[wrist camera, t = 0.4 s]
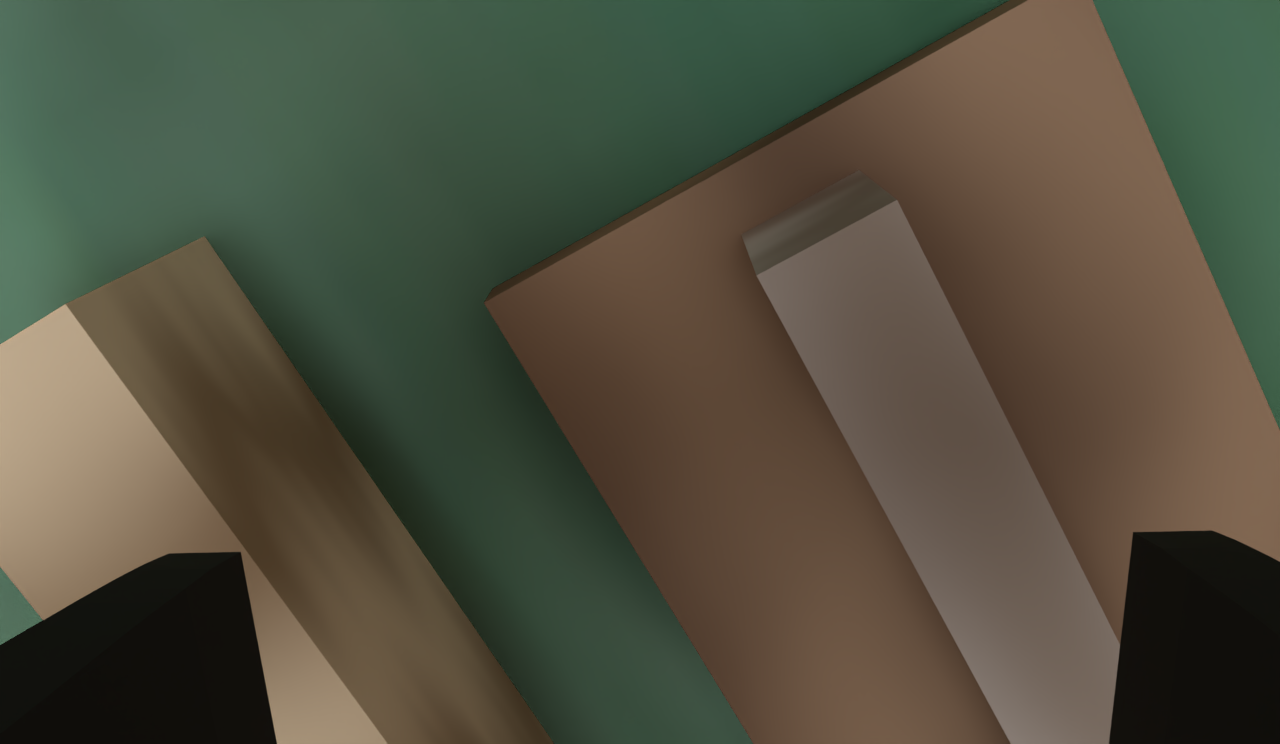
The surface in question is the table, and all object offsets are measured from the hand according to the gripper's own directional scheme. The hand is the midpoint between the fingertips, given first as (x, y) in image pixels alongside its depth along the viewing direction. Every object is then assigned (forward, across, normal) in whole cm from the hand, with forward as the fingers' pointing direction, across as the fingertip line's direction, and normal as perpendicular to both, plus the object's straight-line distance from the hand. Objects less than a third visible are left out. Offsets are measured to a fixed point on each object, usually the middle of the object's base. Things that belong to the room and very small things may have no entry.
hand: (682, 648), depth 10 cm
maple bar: (+10, +4, +8) cm, 14 cm away
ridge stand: (+10, -5, +5) cm, 12 cm away
